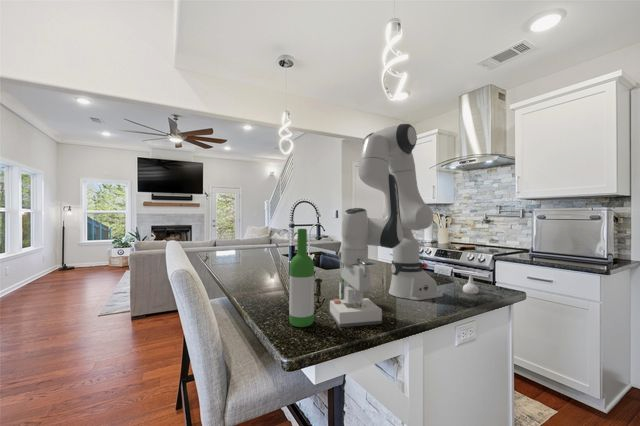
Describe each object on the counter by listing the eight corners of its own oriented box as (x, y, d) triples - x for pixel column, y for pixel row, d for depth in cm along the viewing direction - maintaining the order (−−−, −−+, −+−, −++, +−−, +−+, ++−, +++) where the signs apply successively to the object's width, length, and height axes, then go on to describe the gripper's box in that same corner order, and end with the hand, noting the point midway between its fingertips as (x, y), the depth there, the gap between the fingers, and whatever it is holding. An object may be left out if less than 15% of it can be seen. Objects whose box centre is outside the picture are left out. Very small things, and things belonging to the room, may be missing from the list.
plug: (358, 303, 97) (359, 286, 97) (362, 307, 93) (362, 289, 93) (344, 304, 96) (344, 287, 96) (347, 308, 92) (348, 289, 92)
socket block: (367, 310, 102) (367, 295, 102) (381, 323, 90) (381, 307, 90) (329, 313, 99) (329, 298, 99) (339, 327, 87) (339, 310, 87)
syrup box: (338, 299, 115) (339, 263, 114) (353, 299, 115) (353, 263, 115) (341, 304, 109) (341, 266, 109) (356, 303, 109) (356, 266, 109)
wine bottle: (313, 318, 94) (314, 228, 94) (313, 328, 86) (314, 229, 86) (290, 318, 94) (290, 228, 94) (288, 328, 86) (288, 229, 86)
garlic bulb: (478, 296, 122) (481, 278, 122) (462, 293, 125) (464, 275, 125) (477, 292, 128) (479, 275, 128) (462, 289, 131) (464, 272, 130)
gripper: (376, 262, 85) (375, 308, 85) (353, 252, 105) (353, 289, 105) (356, 262, 84) (355, 309, 84) (337, 252, 104) (336, 290, 104)
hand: (353, 298), depth 95 cm, fingers closed on plug, 4 cm apart
